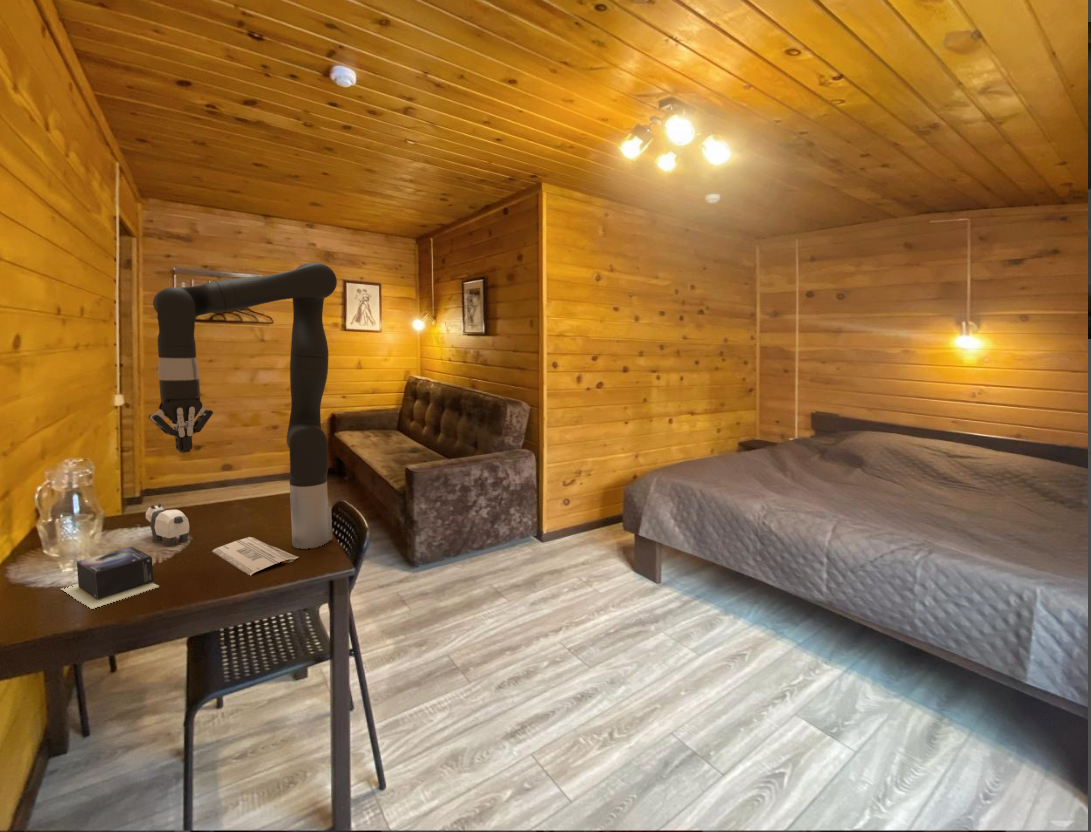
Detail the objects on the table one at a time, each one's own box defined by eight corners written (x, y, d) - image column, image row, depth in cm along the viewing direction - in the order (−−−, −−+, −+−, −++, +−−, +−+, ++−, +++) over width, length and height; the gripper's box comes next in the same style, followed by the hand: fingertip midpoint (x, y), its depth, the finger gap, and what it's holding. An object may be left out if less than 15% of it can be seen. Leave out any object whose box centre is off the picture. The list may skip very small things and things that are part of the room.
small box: (152, 554, 117) (94, 572, 108) (155, 582, 118) (97, 601, 109) (131, 544, 122) (74, 560, 113) (134, 570, 123) (77, 588, 114)
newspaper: (301, 562, 132) (300, 553, 132) (251, 583, 123) (250, 574, 122) (260, 539, 146) (258, 531, 145) (212, 557, 136) (210, 548, 136)
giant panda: (192, 541, 143) (190, 507, 141) (170, 548, 138) (168, 513, 136) (161, 531, 149) (158, 499, 147) (139, 537, 144) (136, 504, 142)
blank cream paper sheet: (126, 570, 124) (126, 568, 124) (159, 587, 116) (159, 585, 116) (60, 590, 114) (60, 588, 114) (91, 610, 106) (91, 608, 106)
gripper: (153, 379, 111) (160, 459, 113) (218, 377, 122) (223, 449, 125) (137, 378, 115) (143, 454, 117) (201, 375, 126) (206, 445, 128)
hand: (184, 452), depth 121 cm, fingers closed
